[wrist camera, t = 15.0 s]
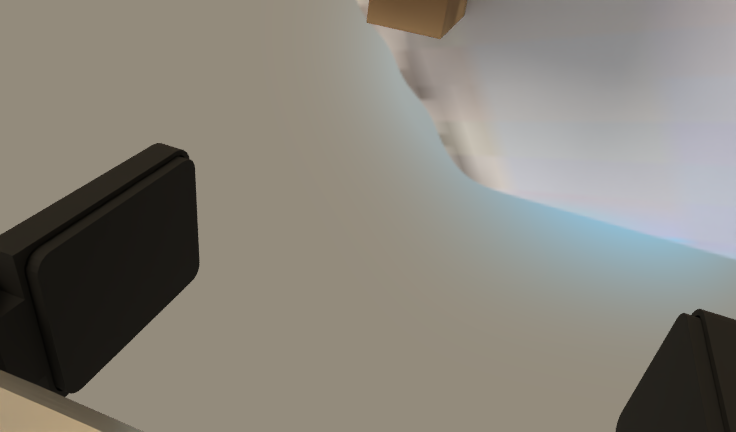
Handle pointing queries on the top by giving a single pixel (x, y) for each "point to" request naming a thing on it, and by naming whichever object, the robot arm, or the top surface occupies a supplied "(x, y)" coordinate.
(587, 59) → the top surface
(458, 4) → the brown piece
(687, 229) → the top surface
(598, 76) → the top surface
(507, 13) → the top surface
